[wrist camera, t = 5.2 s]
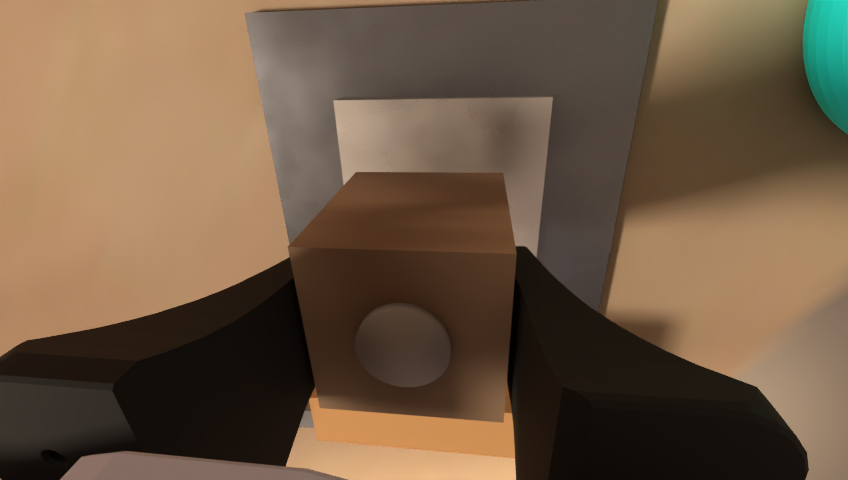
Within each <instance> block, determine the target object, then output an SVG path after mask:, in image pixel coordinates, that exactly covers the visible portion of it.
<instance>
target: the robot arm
mask: <svg viewBox="0 0 848 480" xmlns="http://www.w3.org/2000/svg"><path fill="white" fill-rule="evenodd" d="M515 247H516V253H517V256H516V269H515V282H514V295H513V308H512V321H511V334H510V346H509V359H508V372H507V384H508V390H509V397H510V403H511V409H512V418H513V429H514V446H515V463H516V480H805V478H806V476H807V473H808V470H809V468H808V459H807V452H806V451H805V449H804V448H803V446H802V444H801V443H800V441H799V440H798V438H797V436H796V435H795V434H794V433H793V431H792V430H791V429H790V427H789V426H788V425H787V424H786V422H785V421H784V420H783V419H782V417H781V416H780V415H779V413H778V412H777V411H776V410H775V408H774V407H773V406H772V405H771V403H770V402H769V401H768V400H767V398H766V397H765V396H764V395H763V394H762V393H761V392H760V390H759V389H758V388H757V387H755V386H753V385H750V384H747V383H744V382H742V381H739V380H736V379H734V378H731V377H728V376H726V375H723V374H720V373H718V372H715V371H712V370H709V369H707V368H704V367H701V366H699V365H696V364H694V363H692V362H689V361H687V360H685V359H683V358H681V357H678V356H676V355H674V354H672V353H669V352H667V351H665V350H663V349H661V348H659V347H657V346H655V345H653V344H651V343H649V342H647V341H645V340H643V339H641V338H639V337H638V336H636V335H634V334H632V333H630V332H629V331H627V330H625V329H623V328H621V327H620V326H618V325H617V324H615V323H613V322H612V321H610V320H609V319H607V318H606V317H604V316H603V315H601V314H600V313H598V312H597V311H595V310H594V309H592V308H591V307H590V306H588V305H587V304H586V303H584V302H583V301H582V300H580V299H579V298H578V297H577V296H576V295H574V294H573V293H572V292H571V291H570V290H568V289H567V288H566V287H565V286H564V285H563V284H562V283H561V282H560V281H558V280H557V279H556V278H555V277H554V276H553V275H552V274H551V273H550V272H549V271H548V270H547V269H546V268H545V267H544V265H543V264H542V263H541V262H540V261H539V260H538V259H537V258H536V257H535V256H534V255H533V253H532V252H531V251H530V250H529V249H528V248H527V247H526V246H515ZM314 388H315V382H314V377H313V372H312V367H311V362H310V357H309V352H308V347H307V342H306V336H305V331H304V326H303V321H302V316H301V311H300V306H299V301H298V296H297V291H296V286H295V281H294V276H293V271H292V266H291V261H290V257H289V258H287V259H286V260H284V261H282V262H280V263H278V264H276V265H274V266H273V267H271V268H269V269H267V270H265V271H263V272H261V273H259V274H257V275H254V276H252V277H250V278H248V279H246V280H244V281H242V282H240V283H238V284H236V285H234V286H231V287H229V288H227V289H224V290H222V291H219V292H217V293H214V294H212V295H209V296H207V297H204V298H201V299H199V300H196V301H193V302H190V303H187V304H184V305H181V306H177V307H174V308H171V309H168V310H165V311H162V312H159V313H155V314H152V315H148V316H144V317H141V318H137V319H133V320H129V321H125V322H121V323H117V324H112V325H108V326H104V327H99V328H94V329H90V330H84V331H79V332H73V333H68V334H62V335H57V336H51V337H46V338H40V339H34V340H28V341H25V342H23V343H21V344H19V345H17V346H16V347H14V348H13V349H11V350H10V351H8V352H7V353H5V354H4V355H2V356H1V357H0V478H1V479H2V480H347V479H343V478H340V477H336V476H332V475H329V474H325V473H321V472H317V471H314V470H310V469H304V468H294V467H285V466H286V463H287V460H288V457H289V454H290V451H291V448H292V445H293V442H294V439H295V437H296V434H297V431H298V428H299V425H300V423H301V420H302V417H303V414H304V411H305V409H306V406H307V404H308V402H309V399H310V397H311V395H312V392H313V390H314Z"/></svg>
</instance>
